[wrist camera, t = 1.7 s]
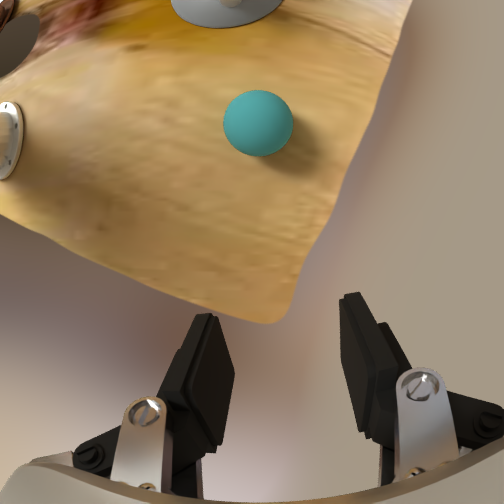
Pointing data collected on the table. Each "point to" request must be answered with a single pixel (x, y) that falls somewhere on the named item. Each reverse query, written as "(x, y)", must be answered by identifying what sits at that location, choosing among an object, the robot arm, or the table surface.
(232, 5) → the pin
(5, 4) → the cup and saucer
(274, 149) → the ball
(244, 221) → the table surface
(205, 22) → the pin spot
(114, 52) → the table surface
